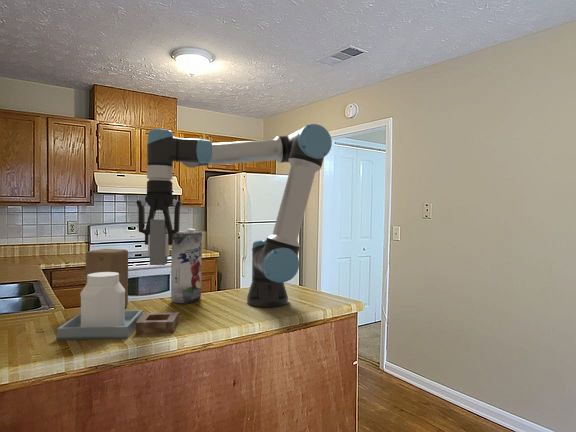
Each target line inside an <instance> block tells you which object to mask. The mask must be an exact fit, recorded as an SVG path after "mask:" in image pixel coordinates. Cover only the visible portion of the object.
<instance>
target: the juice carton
mask: <svg viewBox="0 0 576 432" xmlns="http://www.w3.org/2000/svg"><path fill="white" fill-rule="evenodd" d="M202 238H203V232H202V231H196V229H195V228H187V230H185V231H182V232H180V231H179V232H177V233H174V234H173V244H172V245H171V249H170V250H171V254H170V255H171V258H170V259H171V263H170V264H171V265H170V266H171V268H170V269H171V270H170V271H171V272H170V274H171V275H170V276H171V277H170V279H171V280H170V281H171V282H170V284H171V285H170V299H171V302H172V303H178V304H186V305H187V304H191V303H193V302H196V301H199V300H201V297H202V253H203V252H202V251H203V250H202Z"/></svg>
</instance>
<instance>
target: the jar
mask: <svg viewBox="0 0 576 432" xmlns="http://www.w3.org/2000/svg"><path fill="white" fill-rule="evenodd" d="M125 310H126V308H125V289H124V288H123V286H122V285H121V284H120V282H119V273H116V272H99V273H92V274H88V275H87V285H86V284H85V286H84V288H83V289H82V290H81V291H80V313H81V324H80V327H109V326H124V325H125Z"/></svg>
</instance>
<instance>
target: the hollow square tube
mask: <svg viewBox="0 0 576 432" xmlns="http://www.w3.org/2000/svg"><path fill="white" fill-rule="evenodd" d="M178 323H179V312H143V315H142V316H141V317H140V318H139V320H138V321H137V322H136V328H135V334H164V333H165V334H166V333H169V334H170V333H174V332H175V330H176V327H177V326H178Z"/></svg>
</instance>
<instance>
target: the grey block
mask: <svg viewBox="0 0 576 432" xmlns="http://www.w3.org/2000/svg"><path fill="white" fill-rule="evenodd" d="M167 233H168V231H167V227H166V219H165V218H154V219H150V256H149V266H166V265H168V258H169V257H168V256H165V235H167Z"/></svg>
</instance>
